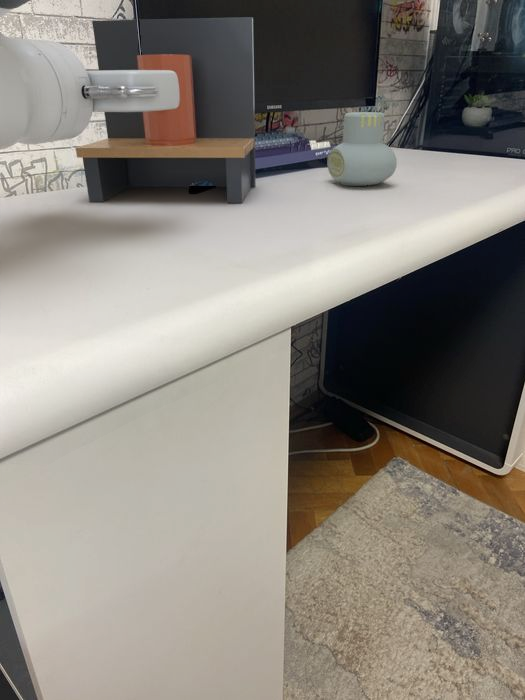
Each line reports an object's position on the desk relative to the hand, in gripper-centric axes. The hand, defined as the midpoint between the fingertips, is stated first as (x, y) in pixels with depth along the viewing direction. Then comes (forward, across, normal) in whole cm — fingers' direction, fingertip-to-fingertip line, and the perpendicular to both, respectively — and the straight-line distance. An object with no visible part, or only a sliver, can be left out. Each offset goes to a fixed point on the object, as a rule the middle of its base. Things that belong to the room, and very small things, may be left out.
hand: (126, 89), depth 63 cm
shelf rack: (+9, 0, +14) cm, 16 cm away
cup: (+9, 0, +7) cm, 11 cm away
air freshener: (+26, -23, +14) cm, 37 cm away
